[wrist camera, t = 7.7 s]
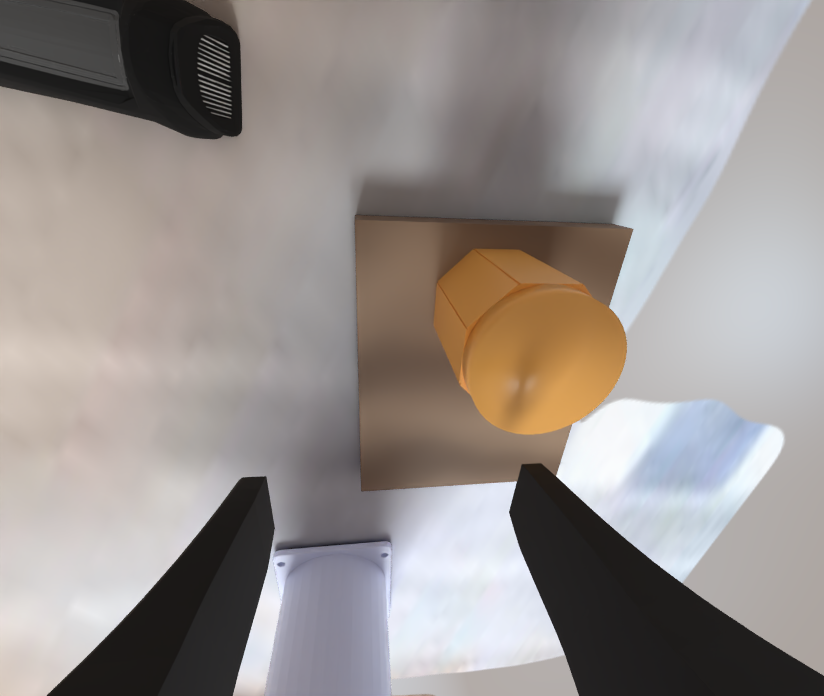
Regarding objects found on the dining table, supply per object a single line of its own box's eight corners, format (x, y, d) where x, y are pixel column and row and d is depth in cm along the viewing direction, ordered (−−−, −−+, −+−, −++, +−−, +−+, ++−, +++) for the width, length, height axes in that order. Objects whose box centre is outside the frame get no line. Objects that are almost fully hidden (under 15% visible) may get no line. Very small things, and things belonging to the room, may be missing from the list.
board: (544, 461, 24) (591, 537, 19) (361, 471, 22) (360, 558, 17) (612, 223, 17) (712, 248, 12) (355, 214, 15) (352, 238, 10)
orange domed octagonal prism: (529, 352, 18) (600, 431, 13) (431, 353, 17) (461, 437, 12) (552, 250, 16) (650, 294, 10) (439, 247, 15) (481, 293, 10)
